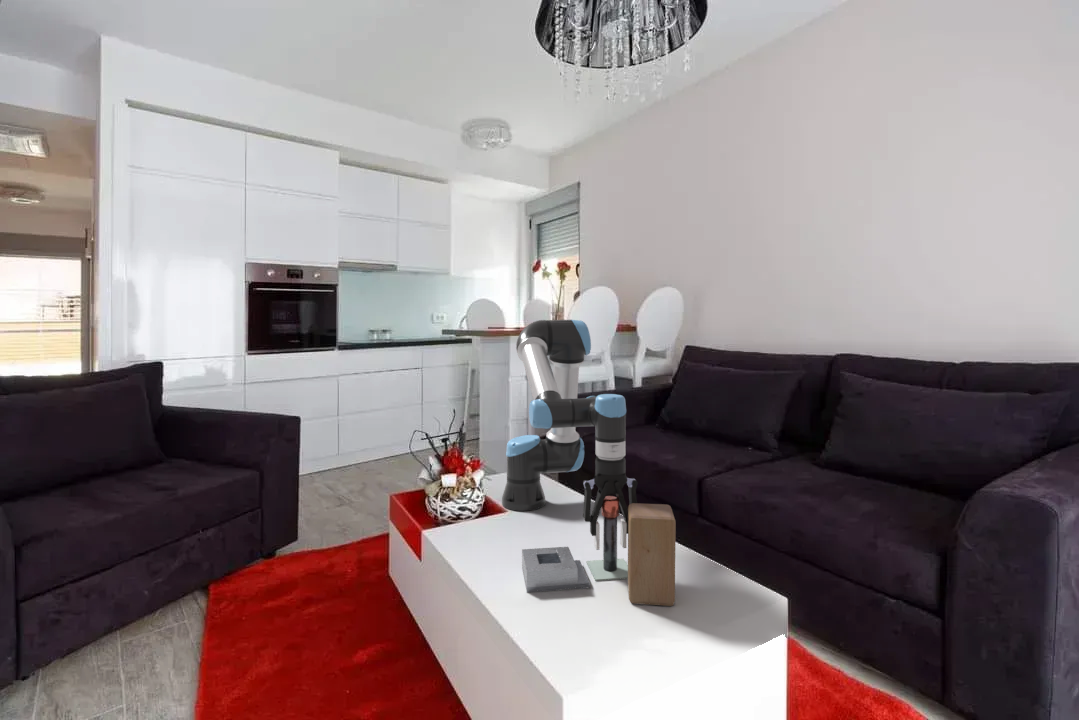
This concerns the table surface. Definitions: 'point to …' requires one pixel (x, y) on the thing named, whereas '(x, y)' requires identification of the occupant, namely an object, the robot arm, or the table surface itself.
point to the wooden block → (651, 554)
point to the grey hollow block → (552, 570)
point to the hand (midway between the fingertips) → (610, 546)
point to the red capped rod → (610, 532)
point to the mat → (602, 575)
